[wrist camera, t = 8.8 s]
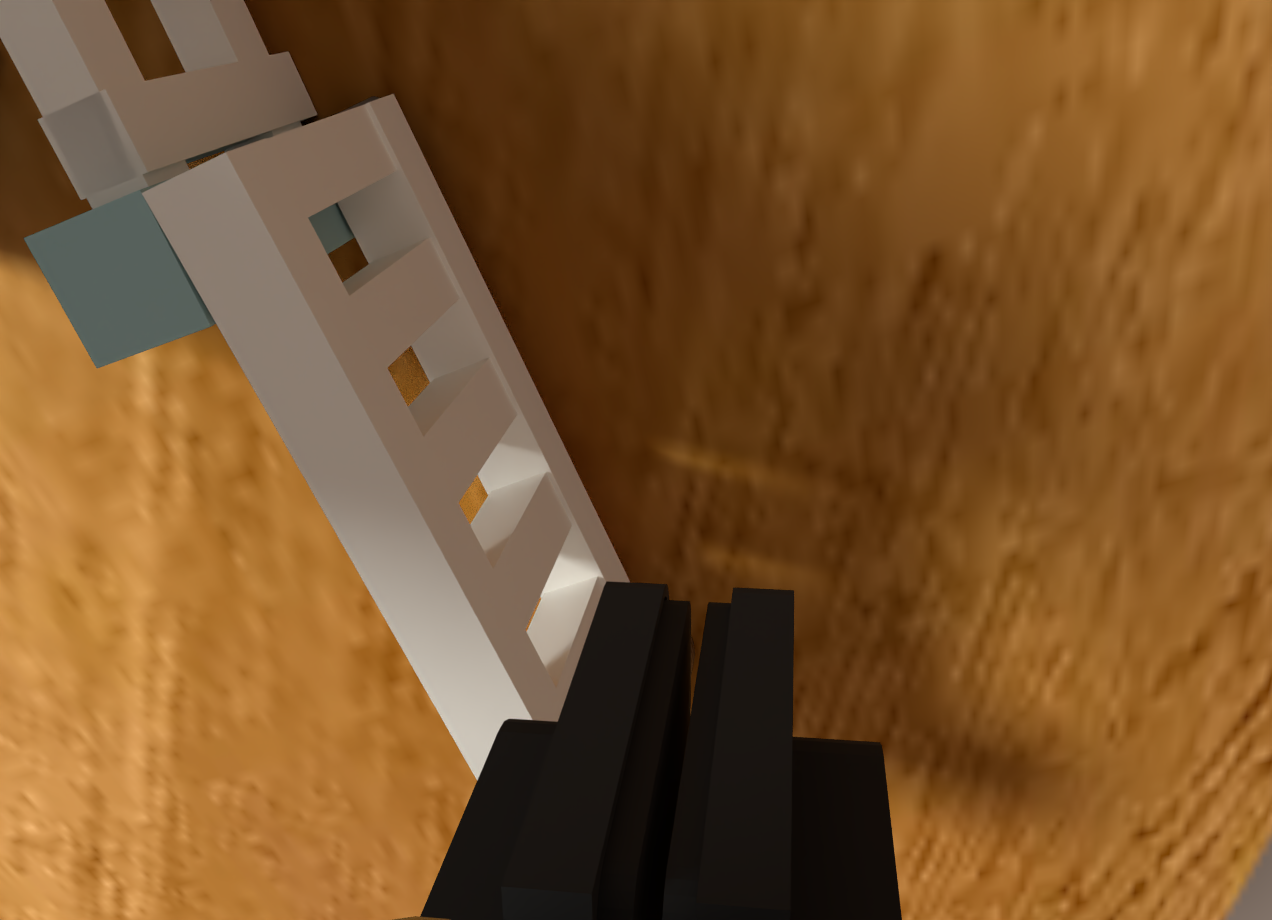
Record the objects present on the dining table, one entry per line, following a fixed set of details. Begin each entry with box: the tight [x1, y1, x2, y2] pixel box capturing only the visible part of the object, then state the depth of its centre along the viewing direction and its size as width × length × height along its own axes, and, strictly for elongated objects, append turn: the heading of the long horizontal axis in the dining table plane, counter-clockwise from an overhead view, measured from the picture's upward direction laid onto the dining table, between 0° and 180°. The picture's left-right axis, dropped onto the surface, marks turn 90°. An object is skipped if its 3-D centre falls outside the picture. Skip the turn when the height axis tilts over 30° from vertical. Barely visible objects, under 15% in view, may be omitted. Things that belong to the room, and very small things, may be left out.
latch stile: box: [24, 178, 355, 368], centre depth 19 cm, size 2×2×7 cm
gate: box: [142, 94, 630, 780], centre depth 20 cm, size 11×1×7 cm, turn 24°
